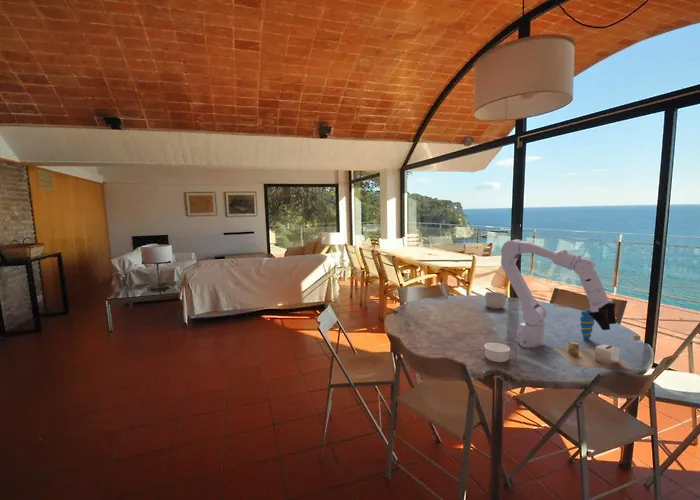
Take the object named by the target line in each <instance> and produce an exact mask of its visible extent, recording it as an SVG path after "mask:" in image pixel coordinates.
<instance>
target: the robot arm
mask: <svg viewBox="0 0 700 500" xmlns="http://www.w3.org/2000/svg"><path fill="white" fill-rule="evenodd" d="M500 252H501V256H500V258H501V259H500V265H501V267H502V269H503V271H504V273H505V275H506V276H507V278H508V281H509V282H510V285H511V287H512V288H513V290H514V292H515V294H516V296H517V298H518V300H519V301H520V305H521V311H522V313H523V314H522V315H523V316H522V317H523V320H524V321H523V322H519V323H517V327H516V328H517V331H516V335H517V336H516V342H517V343H518V344H519V346H521V348H530V349H531V348H532V349H533V348H536V347H540V346H544V345H545V343H544V342H545V322H544V319H546V316H547V311H546V309H545V308H544V307H543V306H542V305H541V304H540V303H539V301H538V300H537V299H536V298H535V297H534V296H533V294H532V292H531V290H530V288H529V286H528V284H527V283H526V281H525V279H524V277H523V276H522V273H521V271H520V269H519V268H518V266H517V261H518V260H519V257H520V256H521V255H523V254H529V253H530V254H533V255H536V256H539V257H541V258H542V257H543V258H546V259H549V260H551V261H552V263H553V265H556V266H558V267H562V268H563V269H568V270H570V271H574V272H575V273H576V274H577V275H578V277H579V280H580V283H581V285H582V287H583V290H584V292H585V294H586V297H587V300H588V302H589V306H590V307H589V309H590V311H589V312H588V313H589V315H590V316H591V317H593V318H594V319H595V320H594V321H595V322H596V324H597V325H598V326H599V327H600V328H601V329H602V331H608V330H609V331H610V330H611V327H610V326H611V325H616V324H617V317H616V310H615V308H616V302H614V299H610V298H609V296H608V295H607V293H606V290H605V288H604V285H603V284H602V281H601V278H600V277H599V275H598V274H597V271H596V269H595V266H596V265H595V263H594V261H593V260H592V259H591V258H589V257H587V256H586V257H585V256H583V257H582V255H580V254H578V255H576V254H574V253H573V254H572V253H569V252H568V250H566V249H563V250H561V249H559V250H556V251H554V250H551V249H549V248H546V247H543V246H540V245H539V244H535V243H533V242H530V241H526V240H522V239H519V238H515V239H513V240H507V241H505V242H504V243H503V245H502V246H501V248H500Z"/></svg>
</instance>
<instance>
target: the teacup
mask: <svg viewBox="0 0 700 500" xmlns="http://www.w3.org/2000/svg"><path fill="white" fill-rule="evenodd" d="M484 296H485V297H484V298H485V300H484V301H485V305H486V306H487V307H488V308H489V309H493V310H501V309H503V308H504V307H505V305H506V301H507V300H506V298H507V295H506V294H505V293H503V292H498V291H486V292H485V293H484Z"/></svg>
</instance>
